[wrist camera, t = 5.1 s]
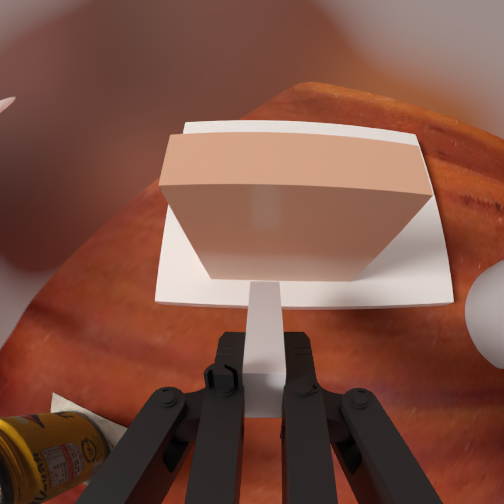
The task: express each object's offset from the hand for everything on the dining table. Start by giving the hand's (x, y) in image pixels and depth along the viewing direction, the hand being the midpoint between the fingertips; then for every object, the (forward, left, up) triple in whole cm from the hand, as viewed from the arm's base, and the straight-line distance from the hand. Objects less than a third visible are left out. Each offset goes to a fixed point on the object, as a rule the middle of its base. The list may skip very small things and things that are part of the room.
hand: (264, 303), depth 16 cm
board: (-4, -9, -6) cm, 11 cm away
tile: (-1, -4, -4) cm, 6 cm away
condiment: (+14, +12, -6) cm, 19 cm away
